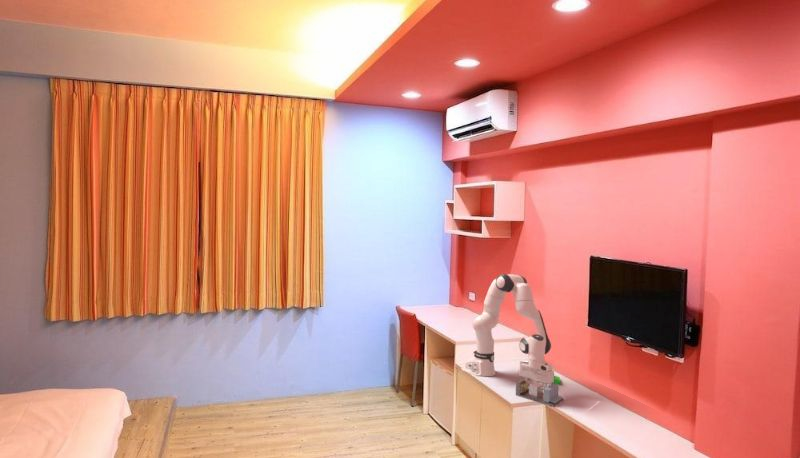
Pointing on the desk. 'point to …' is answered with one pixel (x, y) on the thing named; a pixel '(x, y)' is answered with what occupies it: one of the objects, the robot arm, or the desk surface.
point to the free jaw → (551, 393)
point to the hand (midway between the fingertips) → (535, 387)
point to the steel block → (535, 389)
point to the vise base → (523, 392)
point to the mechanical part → (556, 380)
